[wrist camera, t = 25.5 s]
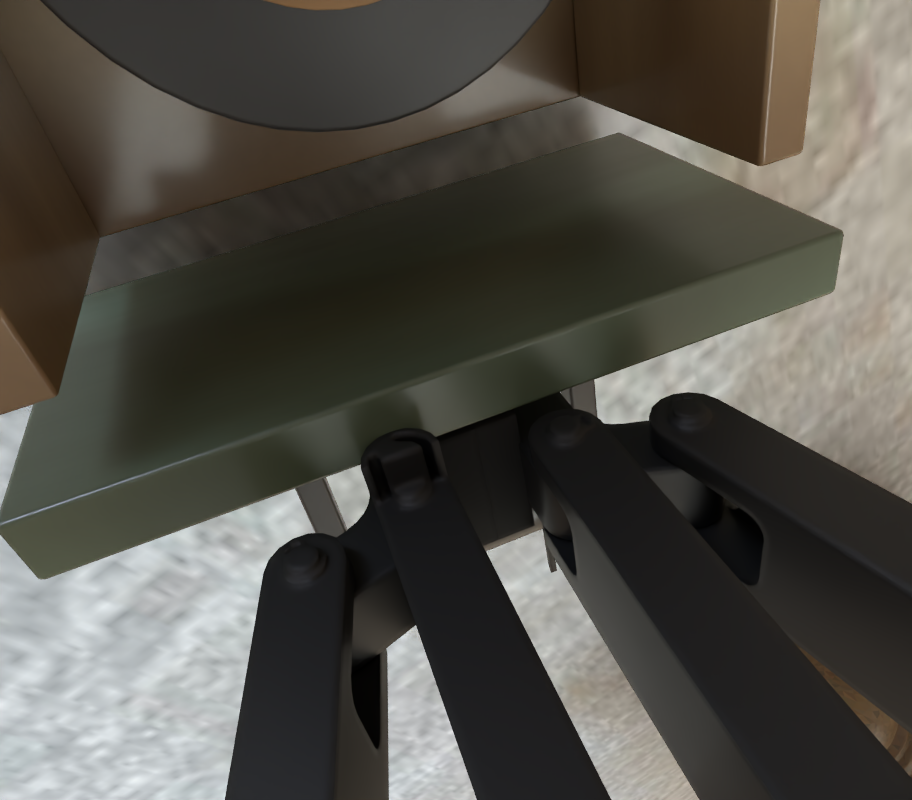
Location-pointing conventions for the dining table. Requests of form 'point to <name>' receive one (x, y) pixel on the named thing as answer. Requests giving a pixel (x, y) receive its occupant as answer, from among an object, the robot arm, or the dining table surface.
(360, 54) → the tape roll
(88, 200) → the drawer
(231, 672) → the dining table surface
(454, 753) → the dining table surface
